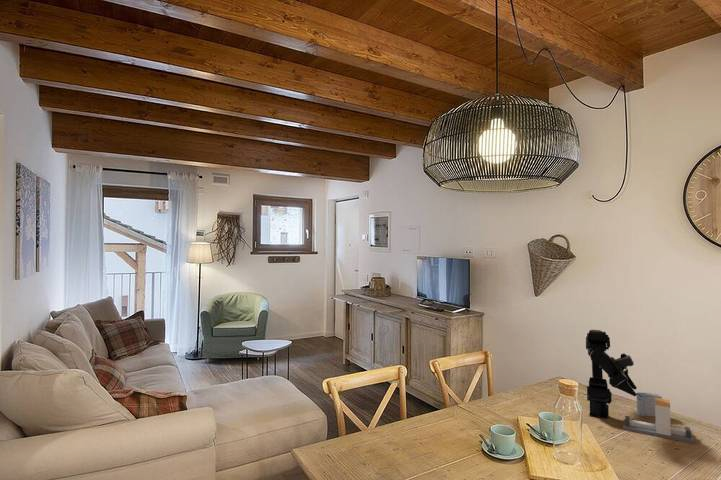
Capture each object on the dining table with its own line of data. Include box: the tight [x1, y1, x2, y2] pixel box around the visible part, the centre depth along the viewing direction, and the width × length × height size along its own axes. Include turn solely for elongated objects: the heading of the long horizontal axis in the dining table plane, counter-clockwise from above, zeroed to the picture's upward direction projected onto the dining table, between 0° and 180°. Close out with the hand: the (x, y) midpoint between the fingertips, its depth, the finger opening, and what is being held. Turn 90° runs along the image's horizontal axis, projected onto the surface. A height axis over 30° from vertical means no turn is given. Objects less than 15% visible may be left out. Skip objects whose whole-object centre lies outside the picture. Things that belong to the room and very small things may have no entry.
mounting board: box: [622, 415, 695, 444], centre depth 160 cm, size 22×8×3 cm, turn 56°
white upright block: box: [654, 398, 672, 436], centre depth 159 cm, size 4×8×12 cm, turn 146°
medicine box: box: [636, 392, 663, 417], centre depth 176 cm, size 8×4×9 cm, turn 84°
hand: (636, 392), depth 165 cm, fingers open, 9 cm apart
